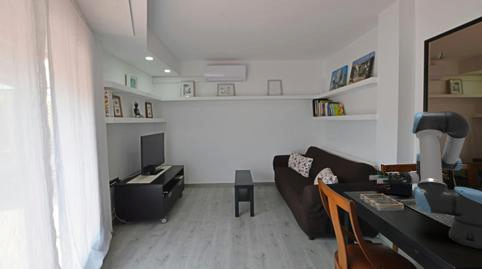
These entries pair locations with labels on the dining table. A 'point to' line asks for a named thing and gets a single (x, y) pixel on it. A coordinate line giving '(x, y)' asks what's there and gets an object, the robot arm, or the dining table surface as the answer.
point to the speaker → (396, 187)
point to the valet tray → (381, 202)
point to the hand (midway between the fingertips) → (373, 179)
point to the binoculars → (382, 185)
